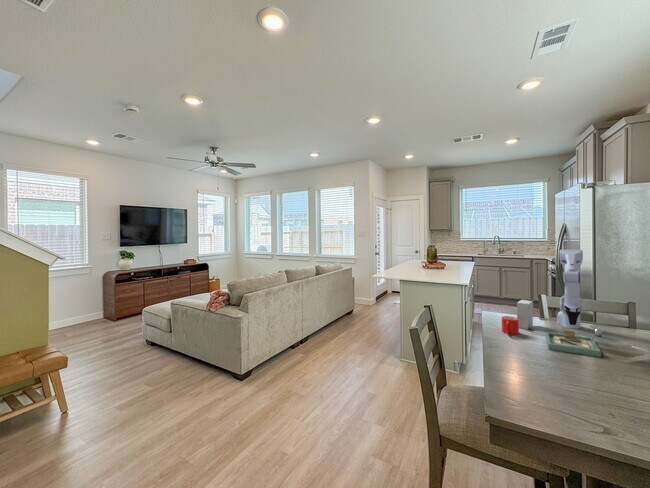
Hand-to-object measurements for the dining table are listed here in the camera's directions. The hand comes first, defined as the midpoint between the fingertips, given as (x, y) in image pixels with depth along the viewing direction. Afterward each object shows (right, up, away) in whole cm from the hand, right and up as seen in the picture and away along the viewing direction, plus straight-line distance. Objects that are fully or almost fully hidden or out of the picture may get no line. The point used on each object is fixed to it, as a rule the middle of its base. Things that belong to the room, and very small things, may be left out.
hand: (572, 322), depth 143 cm
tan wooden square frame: (-5, -9, -5) cm, 11 cm away
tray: (-5, -10, -5) cm, 12 cm away
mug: (-22, -10, +14) cm, 28 cm away
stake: (+14, -7, +1) cm, 16 cm away
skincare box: (-8, -9, +23) cm, 26 cm away
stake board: (+16, -9, +2) cm, 18 cm away
